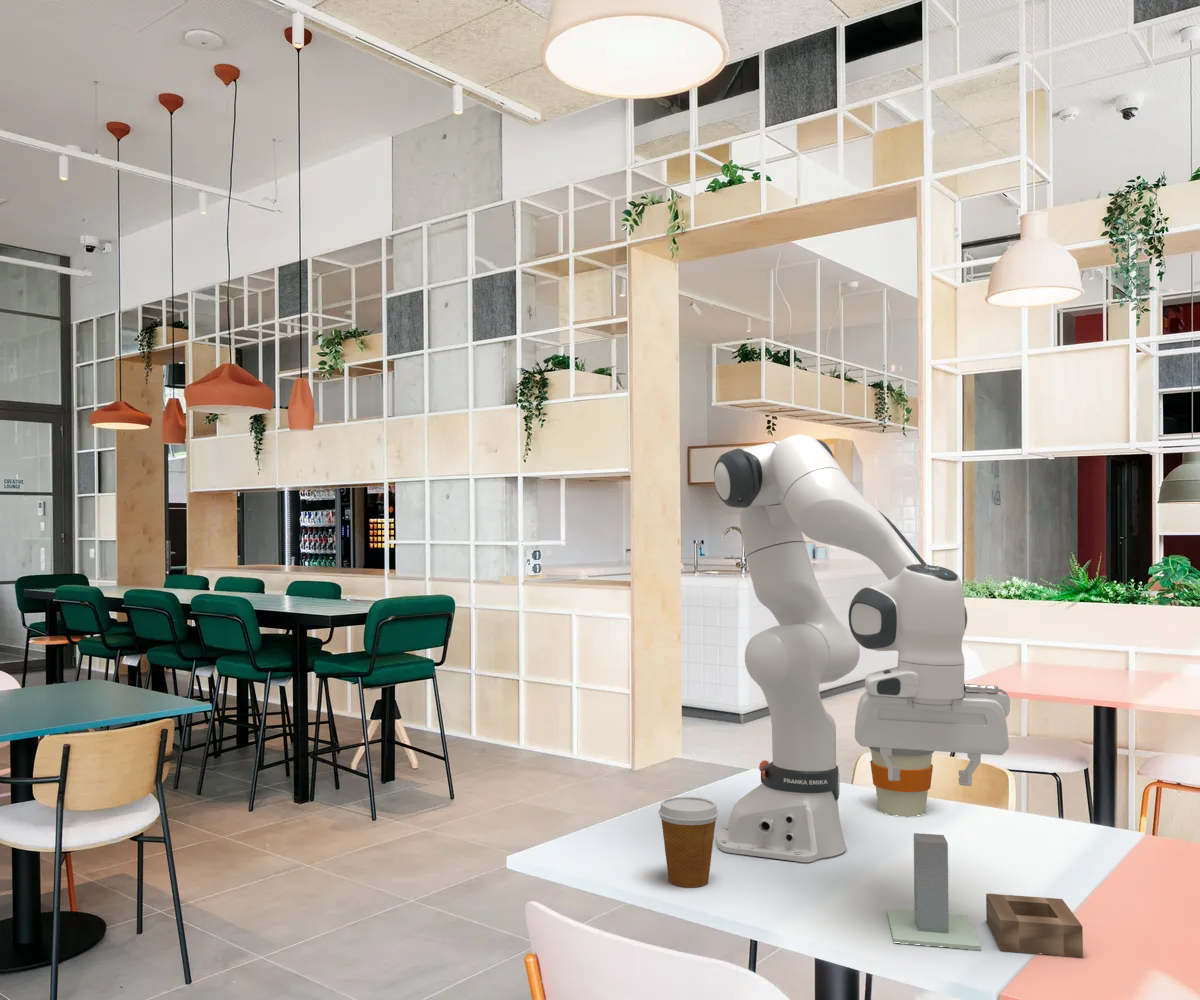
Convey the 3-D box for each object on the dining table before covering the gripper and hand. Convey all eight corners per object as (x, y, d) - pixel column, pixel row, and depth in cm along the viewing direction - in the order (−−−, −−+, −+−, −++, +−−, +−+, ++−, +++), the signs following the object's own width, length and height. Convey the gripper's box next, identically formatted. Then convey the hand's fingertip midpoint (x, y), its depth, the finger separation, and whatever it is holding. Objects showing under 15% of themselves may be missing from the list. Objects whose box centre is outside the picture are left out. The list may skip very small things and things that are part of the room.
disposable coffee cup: (654, 871, 159) (654, 796, 159) (712, 870, 160) (712, 795, 160) (662, 892, 149) (663, 812, 150) (724, 890, 150) (724, 811, 151)
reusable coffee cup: (944, 810, 197) (944, 734, 197) (918, 823, 187) (918, 744, 188) (885, 799, 205) (885, 726, 206) (858, 811, 196) (857, 735, 196)
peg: (917, 931, 133) (916, 841, 134) (914, 920, 137) (913, 833, 138) (948, 933, 133) (947, 843, 133) (944, 922, 136) (943, 834, 137)
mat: (893, 943, 131) (893, 939, 131) (886, 913, 141) (886, 909, 141) (981, 950, 128) (981, 946, 128) (967, 919, 139) (967, 915, 139)
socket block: (1000, 951, 128) (1000, 919, 129) (986, 922, 138) (986, 893, 138) (1082, 957, 126) (1082, 926, 127) (1062, 928, 136) (1062, 898, 136)
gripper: (1005, 682, 137) (1004, 782, 137) (854, 675, 141) (853, 771, 141) (1014, 689, 131) (1013, 793, 131) (857, 681, 135) (855, 782, 135)
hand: (929, 782), depth 136 cm, fingers open, 8 cm apart
